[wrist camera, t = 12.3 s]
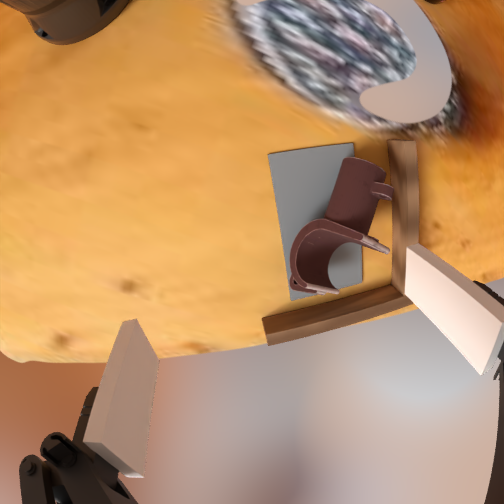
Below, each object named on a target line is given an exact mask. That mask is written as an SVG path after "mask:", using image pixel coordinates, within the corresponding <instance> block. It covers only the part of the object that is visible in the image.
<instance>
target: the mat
mask: <svg viewBox="0 0 504 504" xmlns="http://www.w3.org/2000/svg"><path fill="white" fill-rule="evenodd" d="M346 157H353V158H355V155H354V147H353V143H347V144H338V145H329V146H321V147H314V148H306V149H299V150H292V151H286V152H280V153H274V154H268V159H269V164H270V170H271V176H272V182H273V187H274V193H275V199H276V206H277V212H278V218H279V224H280V231H281V237H282V243H283V250H284V257H285V263H286V270H287V277H288V284H289V280H290V277H291V274H292V273H291V270H290V263H289V258H290V250H291V247H292V244H293V241H294V239H295V237H296V235H297V234H298V232H299V231H300V230H301V229H302V228H303V227H304V226H305V225H306V224H308V223H309V222H311V221H313V220H316V219H323V218H324V216H325V213H326V210H327V207H328V204H329V201H330V198H331V195H332V192H333V189H334V186H335V183H336V180H337V177H338V174H339V170H340V167H341V164H342V161H343V159H344V158H346ZM328 275H329V279H330V281H331V283H332V285H333V286H334V287H335V288H337V289H341V288H344V287H348V286H352V285H356V284H359V283H362V246H361V245H359V244H357V243H352V242H349V243H345V244H342V245H341V246H339V247H338V248H337V249H336V250H335V251H334V253H333V254H332V256H331V258H330V261H329V265H328ZM289 291H290V299H291V301H293V300H297V299H301V298H305V297H309V296H313V295H317V294H312V293H305V292H299V291H294V290H292V289H291V288H290V285H289Z"/></svg>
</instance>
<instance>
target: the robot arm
mask: <svg viewBox="0 0 504 504" xmlns="http://www.w3.org/2000/svg"><path fill="white" fill-rule="evenodd" d="M128 1H129V0H0V2H1V3H3V4H5V5H7V6H9V7H11V8H13V9H15V10H17V11H20V12H22V13H24V14H25V16H26V17H27V19H28V21H29V23H30V25H31V26H32V28H33V30H34V32H35V33H36V34H37V35H38V36H39V37H40V38H41V39H43V40H45V41H47V42H49V43H52V44H56V45H67V44H72V43H76V42H79V41H81V40H84V39H86V38H88V37H90V36H92V35H94V34H95V33H97V32H98V31H100V30H101V29H103V28H104V27H105V26H107V25H108V24H109V23H110V22H111V21H112V20H114V19H115V18H116V17H117V16H118V15H119V13H120V12H121V11H122V10H123V9H124V7H125V6H126V5H127V3H128ZM405 295H406V296H407V297H408V298H409V299H410V300H411V301H412V302H413V303H414V304H415V305H416V306H417V307H418V308H419V309H420V310H421V311H423V313H424V314H425V315H426V316H427V317H428V318H429V319H430V320H431V321H432V322H433V323H434V324H435V325H436V326H437V327H438V328H439V329H440V331H441V332H443V334H444V335H445V336H446V337H447V338H448V339H449V340H450V341H451V342H452V343H453V344H454V346H455V347H456V348H457V349H458V350H459V351H460V352H461V353H462V354H463V356H464V357H465V358H466V359H467V360H468V361H469V363H470V364H471V365H472V366H473V367H474V368H475V369H476V370H477V372H478V373H479V374H480V375H483V374H484V373H486V372H487V371H488V370H490V369H491V368H493V366H494V364H495V361H496V359H497V357H498V358H499V359H500V360H501V363H500V365H499V367H498V369H497V371H496V373H495V375H494V380H496V378H497V376H498V374H499V376H500V377H499V380H500V396H499V420H498V431H497V441H496V449H495V456H494V462H493V468H492V473H491V478H490V483H489V487H488V492H487V495H486V500H485V503H484V504H504V299H503V298H501V297H499V296H498V294H496V293H495V292H493V291H492V290H491V289H490V288H489V287H487V286H486V285H485V284H483V283H480V282H478V281H473V282H472V281H471V280H470V279H469V278H467V277H466V276H464V275H463V274H462V273H460V272H459V271H458V270H456V269H455V268H454V267H452V266H451V265H449V264H448V263H447V262H445V261H444V260H442V259H441V258H439V257H438V256H437V255H435V254H434V253H432V252H431V251H429V250H428V249H426V248H425V247H423V246H422V245H420V244H419V243H417V244H414V245H411V246H408V247H407V249H406V278H405ZM159 362H160V360H159V359H158V357H157V355H156V354H155V352H154V350H153V348H152V346H151V345H150V343H149V341H148V339H147V337H146V336H145V334H144V332H143V330H142V328H141V326H140V324H139V322H138V320H137V319H133V320H128V321H124V322H122V325H121V327H120V330H119V332H118V335H117V338H116V340H115V343H114V346H113V348H112V351H111V354H110V356H109V359H108V362H107V365H106V368H105V371H104V374H103V376H102V379H101V382H100V385H99V387H93V388H92V390H91V391H90V392H89V394H88V395H87V396H86V399H85V402H84V405H83V409H82V411H81V416H80V417H79V421H78V424H77V427H76V430H75V433H74V437H73V440H72V441H71V440H70V439H68V438H67V437H66V436H65V435H64V434H62V433H60V432H54V433H52V434H49V435H48V436H47V437H46V438H45V439H44V441H43V442H42V445H41V448H40V452H41V456H43V457H44V458H45V459H46V460H47V461H42V460H41V459H40V458H39V457H37V456H35V455H28V456H26V457H25V458H24V459H23V461H22V462H21V464H20V468H19V475H20V487H21V496H22V504H56V503H55V501H56V502H57V504H138V503H137V501H136V500H135V499H134V497H133V496H132V495H131V494H130V492H129V491H128V489H127V488H126V487H125V485H124V484H123V483H122V481H120V479H119V478H118V472H121V473H122V474H123V475H125V476H126V477H137V478H144V476H145V464H146V454H147V445H148V436H149V429H150V421H151V413H152V406H153V399H154V393H155V386H156V380H157V374H158V368H159Z"/></svg>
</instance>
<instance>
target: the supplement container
mask: <svg viewBox="0 0 504 504" xmlns="http://www.w3.org/2000/svg"><path fill="white" fill-rule="evenodd" d="M425 1H427V2H429V3H432V4H438V3H441V2H443V1H446V0H425Z"/></svg>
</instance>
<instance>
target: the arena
mask: <svg viewBox="0 0 504 504" xmlns="http://www.w3.org/2000/svg"><path fill="white" fill-rule="evenodd" d="M387 143H388V153H389V163H390V176H391V187H393V188H394V193H393V197H392V221H393V250H392V279H391V284H390V285H387V286H384V287H381V288H377V289H374V290H370V291H367V292H363V293H360V294H356V295H353V296H349V297H346V298H342V299H338V300H334V301H331V302H327V303H323V304H319V305H315V306H311V307H307V308H303V309H299V310H295V311H291V312H287V313H282V314H278V315H274V316H269V317H265V318H262V322H263V327H264V331H265V335H266V339H267V343H268V346H270V345H275V344H279V343H283V342H287V341H291V340H296V339H299V338H304V337H307V336H311V335H314V334H319V333H323V332H326V331H330V330H333V329H337V328H340V327H344V326H347V325H351V324H354V323H357V322H360V321H364V320H367V319H370V318H373V317H376V316H379V315H382V314H385V313H388V312H391V311H394V310H397V309H400V308H403V307H406V306H409V305H411V304H413V302H412V301H411V300H410V299H409V298H408V297H407V296H406V295H405V278H406V249H407V247H408V246H411V245H414V244H417V243H419V178H418V161H417V148H416V141H413V140H400V139H396V140H387Z"/></svg>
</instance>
